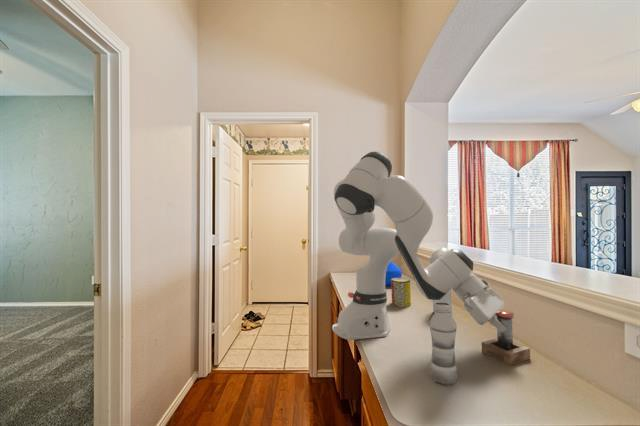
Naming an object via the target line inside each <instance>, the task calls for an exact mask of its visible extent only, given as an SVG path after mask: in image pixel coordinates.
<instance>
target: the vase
mask: <svg viewBox="0 0 640 426" xmlns="http://www.w3.org/2000/svg"><path fill="white" fill-rule="evenodd" d="M402 276H403V272H402V269H401V268H400V267H399V266H398V265H396V264H395V263H394V262H393V261H392V260H391V261H390V263H389V265H388V267H387V270H386V277H385V287H391V279H393V278H402Z"/></svg>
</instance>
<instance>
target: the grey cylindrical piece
mask: <svg viewBox="0 0 640 426" xmlns="http://www.w3.org/2000/svg"><path fill="white" fill-rule="evenodd" d="M495 317H496V318H497V320H498V321H499V322H501V323H503V324H504V325H505V326H506V327H507V329H506V330H505V331H504V332H500V330H499V329H498V328H496V329H497V330H496V332H497V333H496V334H497V343H498V347H500V348H503V349H505V350H507V351H509V350H512V349H513V342H514V339H513V338H514V336H513V335H514V334H513V330H514V329H513V318H514V317H515V314H514V312H512V311H510V310H509V311H508V310H506V309H504V310H503V309H501V310H499V311H498V312H497V314H496V315H495Z"/></svg>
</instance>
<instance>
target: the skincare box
mask: <svg viewBox="0 0 640 426" xmlns="http://www.w3.org/2000/svg"><path fill="white" fill-rule="evenodd" d="M436 302H445V303H448V304H450V310H451V312H450V315H451V316H452V317H453V309H452V289H451V290H450V291H449V292H447V294H446V295H445V296H443V297H442V298H441V299H440V300H432V311H433V313H434V314H435V313H436V311H435V310H434V308H435V303H436Z"/></svg>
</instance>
